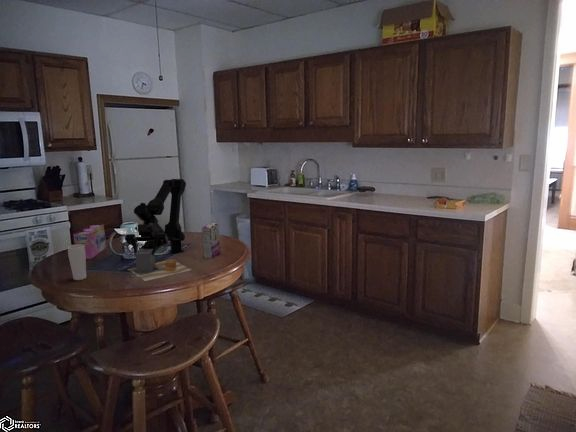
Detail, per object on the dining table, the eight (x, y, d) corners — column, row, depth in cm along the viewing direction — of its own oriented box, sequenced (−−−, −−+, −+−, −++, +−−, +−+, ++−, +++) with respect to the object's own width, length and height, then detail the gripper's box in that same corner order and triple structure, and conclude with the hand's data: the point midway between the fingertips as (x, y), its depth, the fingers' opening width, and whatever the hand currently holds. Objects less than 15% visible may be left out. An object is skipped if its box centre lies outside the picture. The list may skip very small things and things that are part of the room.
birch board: (127, 270, 198) (127, 268, 198) (171, 260, 212) (171, 259, 212) (145, 282, 182) (145, 280, 182) (191, 270, 195) (191, 269, 195)
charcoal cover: (141, 267, 199) (139, 249, 197) (155, 267, 199) (153, 249, 197) (136, 272, 193) (134, 253, 191) (151, 272, 193) (149, 253, 191)
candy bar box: (211, 252, 224) (209, 222, 221) (220, 252, 223) (218, 222, 220) (203, 258, 214) (201, 227, 210) (212, 259, 213) (210, 227, 209)
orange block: (167, 268, 198) (167, 260, 197) (176, 268, 198) (175, 259, 197) (165, 271, 194) (165, 262, 193) (174, 270, 194) (173, 262, 194)
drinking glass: (75, 276, 191) (71, 244, 188) (90, 275, 192) (86, 243, 189) (69, 281, 185) (64, 248, 182) (85, 280, 185) (80, 247, 182)
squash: (129, 237, 239) (139, 219, 232) (150, 232, 252) (160, 215, 245) (142, 256, 235) (153, 238, 228) (163, 250, 248) (174, 233, 241)
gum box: (93, 247, 241) (91, 224, 238) (108, 246, 242) (105, 223, 239) (76, 259, 218) (72, 234, 215) (91, 259, 218) (88, 233, 215)
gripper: (123, 217, 195) (117, 246, 186) (164, 216, 195) (160, 245, 187) (131, 229, 204) (125, 258, 196) (170, 228, 204) (166, 257, 196)
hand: (144, 254), depth 193 cm, fingers open, 8 cm apart
